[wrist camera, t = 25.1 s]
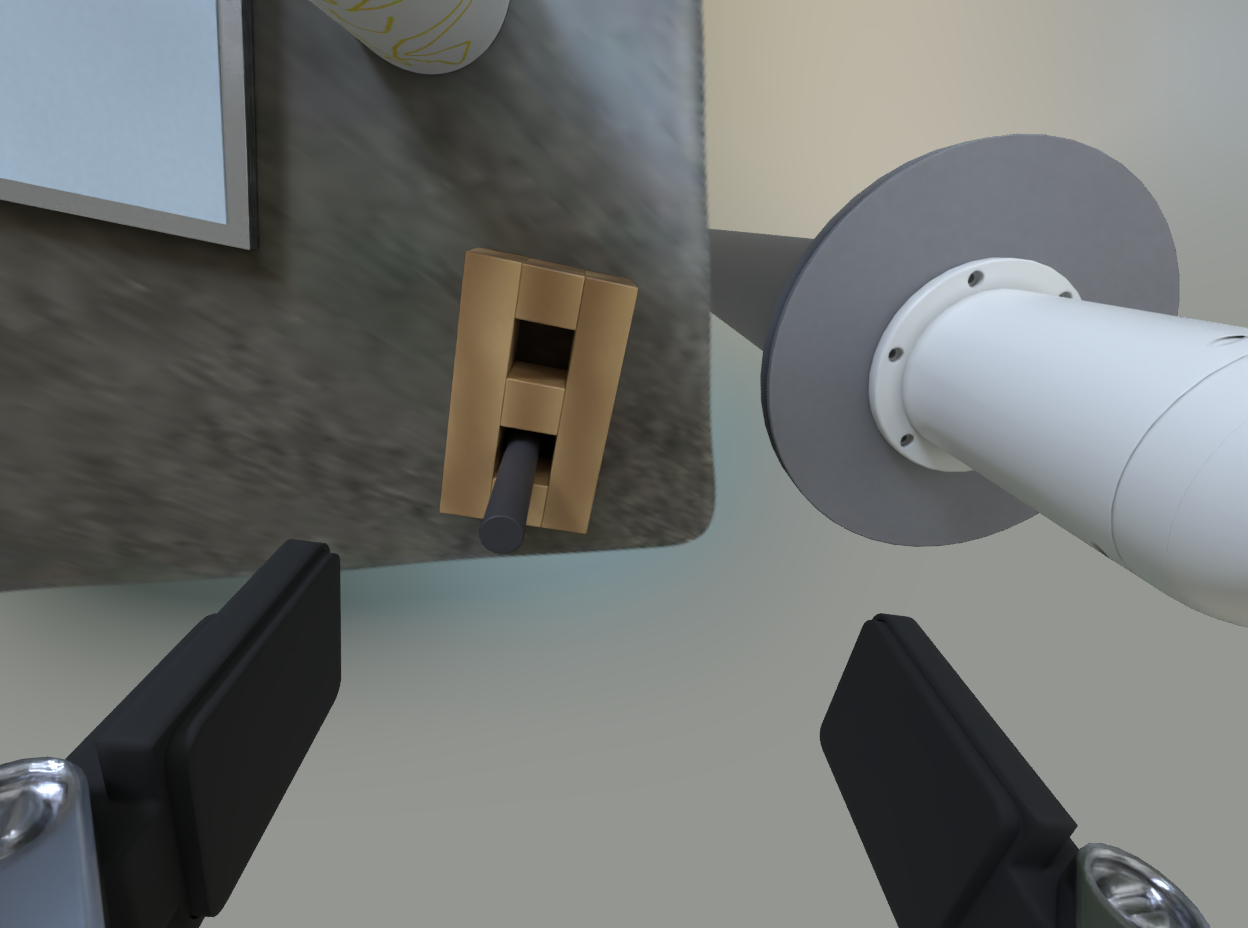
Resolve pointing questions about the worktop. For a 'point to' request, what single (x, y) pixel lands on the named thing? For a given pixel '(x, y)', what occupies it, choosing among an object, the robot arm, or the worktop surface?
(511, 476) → the stylus
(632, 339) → the worktop surface
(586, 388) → the holder
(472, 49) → the cup
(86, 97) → the tablet
